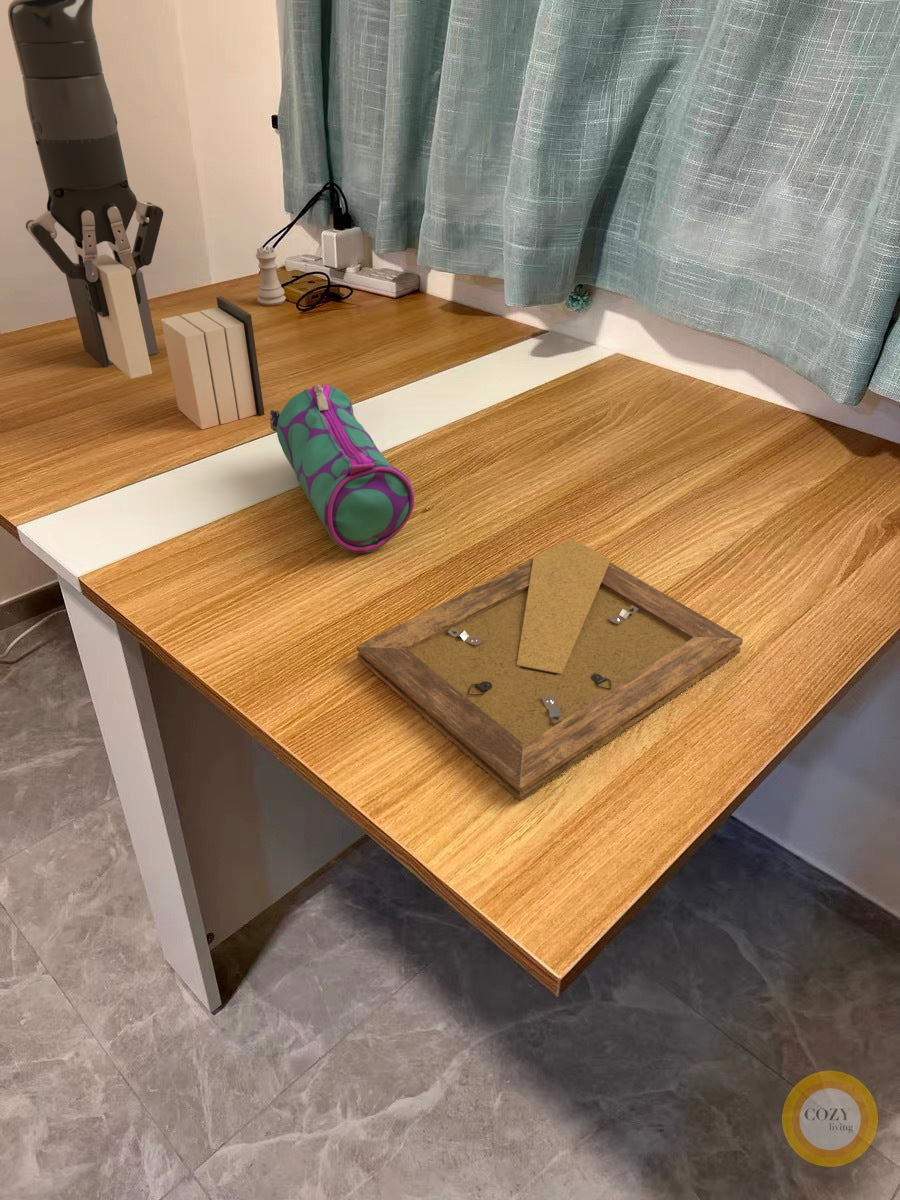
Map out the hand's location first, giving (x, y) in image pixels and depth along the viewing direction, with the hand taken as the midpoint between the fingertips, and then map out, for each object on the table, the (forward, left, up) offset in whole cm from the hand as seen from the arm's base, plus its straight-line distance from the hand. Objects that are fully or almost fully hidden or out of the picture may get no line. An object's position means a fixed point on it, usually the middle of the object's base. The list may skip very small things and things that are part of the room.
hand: (117, 311), depth 94 cm
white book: (0, 0, -6) cm, 6 cm away
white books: (+9, 0, -14) cm, 17 cm away
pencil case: (+10, -28, -14) cm, 33 cm away
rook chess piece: (+33, +33, -14) cm, 49 cm away
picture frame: (+11, -58, -14) cm, 61 cm away
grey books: (+7, +26, -14) cm, 30 cm away
